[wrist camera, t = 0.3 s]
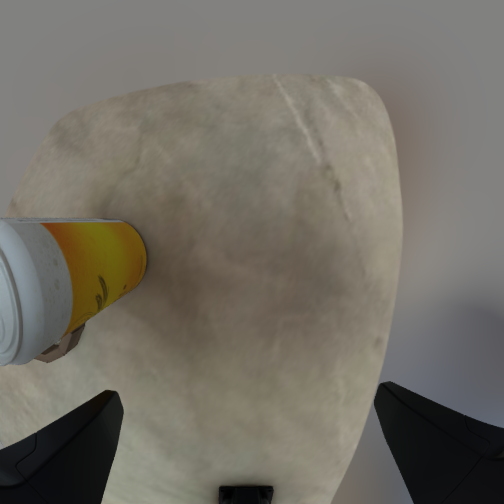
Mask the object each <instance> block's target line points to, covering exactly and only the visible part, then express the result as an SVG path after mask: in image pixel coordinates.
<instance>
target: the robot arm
mask: <svg viewBox="0 0 504 504" xmlns="http://www.w3.org/2000/svg"><path fill="white" fill-rule="evenodd" d="M374 406H375V409H376V412H377V415H378V419H379V421H380V425H381V428H382V431H383V434H384V437H385V439H386V442H387V444H388V446H389V448H390V450H391V453H392V455H393V457H394V459H395V461H396V464H397V466H398V468H399V470H400V473H401V475H402V477H403V480H404V482H405V484H406V487H407V489H408V491H409V494H410V496H411V498H412V500H413V503H414V504H504V428H501V427H497V426H494V425H490V424H487V423H484V422H481V421H478V420H476V419H473V418H471V417H468V416H466V415H463V414H461V413H459V412H457V411H454V410H452V409H450V408H447V407H445V406H443V405H440V404H438V403H436V402H434V401H432V400H430V399H427V398H425V397H423V396H421V395H419V394H416V393H414V392H412V391H410V390H408V389H406V388H404V387H402V386H399V385H397V384H395V383H393V382H391V381H388V382H383V383H380V384H379V386H378V389H377V393H376V396H375V399H374ZM123 414H124V410H123V406H122V403H121V400H120V397H119V394H118V392H116V391H112V390H105V391H103V392H102V393H100V394H98V395H97V396H95V397H94V398H92V399H90V400H89V401H87V402H85V403H84V404H82V405H81V406H79V407H77V408H76V409H74V410H72V411H71V412H69V413H68V414H66V415H64V416H63V417H61V418H59V419H58V420H56V421H54V422H52V423H51V424H49V425H47V426H46V427H44V428H42V429H41V430H39V431H37V433H34V434H32V435H30V436H28V437H26V438H25V439H23V440H21V441H19V442H17V443H15V444H12V445H10V446H8V447H6V448H3V449H1V450H0V504H101V502H102V498H103V494H104V491H105V487H106V484H107V480H108V477H109V473H110V470H111V467H112V463H113V460H114V457H115V453H116V450H117V446H118V440H119V435H120V430H121V425H122V420H123ZM273 491H274V490H273V487H270V486H269V487H219V504H271V500H272V496H273Z"/></svg>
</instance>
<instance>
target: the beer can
mask: <svg viewBox="0 0 504 504" xmlns="http://www.w3.org/2000/svg"><path fill="white" fill-rule="evenodd" d="M145 268H146V250H145V246H144V244H143V241H142V239H141V237H140V236H139V234H138V233H137V231H136V230H135V229H134V228H133V227H132V226H130V225H129V224H127V223H126V222H123V221H121V220H117V219H92V218H0V366H5V365H7V364H15V365H21V364H26V363H28V362H30V361H31V360H32V359H34V358H35V357H37V356H38V355H39V354H41V353H42V352H43V351H45V350H46V349H48V348H49V347H50V346H52V345H53V344H54V343H56V342H57V341H59V340H60V339H61V338H63V337H64V336H66V335H67V334H68V333H70V332H71V331H73V330H74V329H76V328H77V327H78V326H80V325H81V324H83V323H84V322H86V321H87V320H88V319H90V318H91V317H93V316H94V315H96V314H97V313H99V312H100V311H102V310H103V309H104V308H106V307H107V306H109V305H110V304H112V303H113V302H115V301H116V300H118V299H119V298H121V297H122V296H124V295H125V294H127V293H128V292H130V291H131V290H133V289H134V288H135V287H136V286H137V285H138V284H139V282H140V281H141V279H142V277H143V275H144V272H145Z"/></svg>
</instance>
